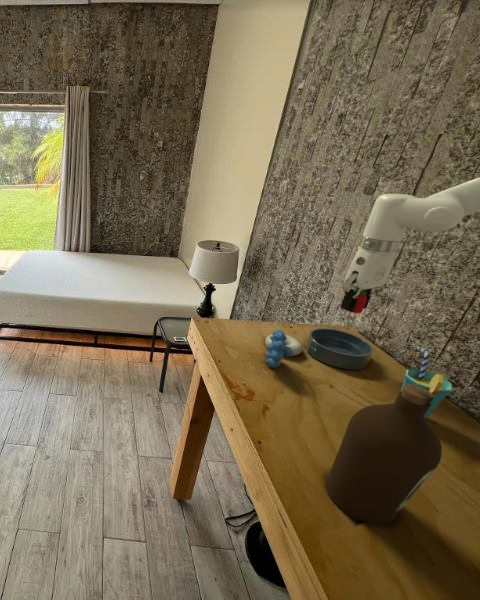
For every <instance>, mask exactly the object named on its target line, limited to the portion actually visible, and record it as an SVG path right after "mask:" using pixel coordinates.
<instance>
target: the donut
mask: <svg viewBox="0 0 480 600" xmlns="http://www.w3.org/2000/svg"><path fill="white" fill-rule="evenodd" d="M272 335H273V334H272V333H271V334H269V335H268V336H266V338H265V340H264V343H265V347H266V346H268V345H269V344H270V343H272V340H271V339H270V337H271V336H272ZM285 336H286V338H287V339H286V340H285V341H284V342H285V344H286V346H288V347H290V348H291V349H292V351H293V354H292V355H290V356H289V357H295V356H298V355H300V354H301V353H302V352H303V345H302V343H301V342H300V341H299V340H298V339H297V338H295V337H293V336H290V335H287V334H285Z"/></svg>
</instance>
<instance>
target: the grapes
mask: <svg viewBox="0 0 480 600" xmlns="http://www.w3.org/2000/svg"><path fill="white" fill-rule="evenodd" d="M272 334H273V335H272ZM271 335H272V336H271V337H270V339H271V340H272V343H270V344H269V345H268V346H266V345H265V347H266V350H267V353H266V354H265V357H266V360H265V363H266V365H267V366H268V367H269V368H277V367H279V366H281V362H280V361H282V360H283V359H284V357H291V356H290V355H292V354H293V351H292V349H291V348H290V347H288V346H286V344H285V342H284V341H285V340H286V339H287V338H286V336H285V335H286V333H285V332H284V331H283V330H282V329H277V330H275V331H273V332H272V333H271Z"/></svg>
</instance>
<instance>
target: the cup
mask: <svg viewBox="0 0 480 600" xmlns="http://www.w3.org/2000/svg"><path fill="white" fill-rule="evenodd" d="M416 350H418V351H419V352H420V353H422V354H423V360H422V363H421V367H420V369H406V372H405V375H404V380H403V381H404V382H403V384H402V386H401V389H400V392H401V391H403V390H402V389H403V387H404V386H405V385H408V384H410V385H416V386H419V387H422V388H424V389H426V390H428V391H430V392H431V393H432V394H433V395H434V399H433V400H432V402H430V403H431V406H430V407H429V409H428V410H427V412H426V413H425V415H424V417H425V419H426V420H427V419H428V418H429V417H430V415H431V414H432V413H433V412H434V410H435V409H436V408H437V407H438V406H439V405H440V403H441V402H442V401H443V399H444V398H445V397H446V396H447V395H450V394H451V393H452V392H453V383H452V382H450V381H449V380H447V379H446V378H444V375H443V374H440V373H433V372H431V371H427V367H428V365H429V361H430V352H429V351H428V350H426V349H425V348H423V347H421V346H417V347H416Z"/></svg>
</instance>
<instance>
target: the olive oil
mask: <svg viewBox="0 0 480 600" xmlns="http://www.w3.org/2000/svg"><path fill="white" fill-rule="evenodd" d="M401 389H402V388H401ZM402 390H403V391H401V390H400V391H399V392H398V394H397V396H396V398H395V401H394V402H393V403H392V402H391V403H381V404H372V405H367V406H364V407H362V408H361V409H359V410H358V411H357V412H355V413H354V414H353V415H352V416H351V418H350V419H349V421H348V424H347V427H346V429H345V432H344V435H343V438H342V440H341V443H340V445H339V448H338V451H337V454H336V457H335V459H334V461H333V463H332V466H331V468H330V471H329V473H328V475H327V478H326V481H325V489H326V493H327V494H328V497H329V498H330V499H331V501H332V502H333V503H334V504H335V505H336V507H338V508H339V509H340V510H341V511H342V512H344V513H345V514H346V515H348V516H349V517H351V518H352V519H354V520H356V521H358V522H359V523H362V524H365V522H367V521H368V522H370V523H375V524H387V523H391V522H392V521H393V520H395V518H396V517H397V515H398V514H399V513H400V511H401V510H402V509H403V508H404V507H405V505H406V504H407V503H408V501H409V500H410V499H411V498H412V497H413V496H414V495H415V493H416V492H417V491H418V490H419V488H421V486H422V485H423V484H424V482H425V481H426V480H427V479H428V478H429V477H430V476H431V474H432V473H433V472H434V471H435V470H436V469H437V468H438V466H439V464H440V462H441V459H442V452H443V451H442V442H441V439H440V437H439V436H438V434H437V432H436V431H435V430H434V428H433V427H432V425H431V424H430V423H429V421H428V420H427V419H425V417H424V415H425V413H426V412H427V410H428V409H429V407H430V406H431V403H430V402H432V400H433V399H434V395H433V394H432V393H431V392H430V391H428V390H426V389H424V388H422V387H419V386H416V385H410V384H408V385H405V386H404V387H403V389H402Z"/></svg>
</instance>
